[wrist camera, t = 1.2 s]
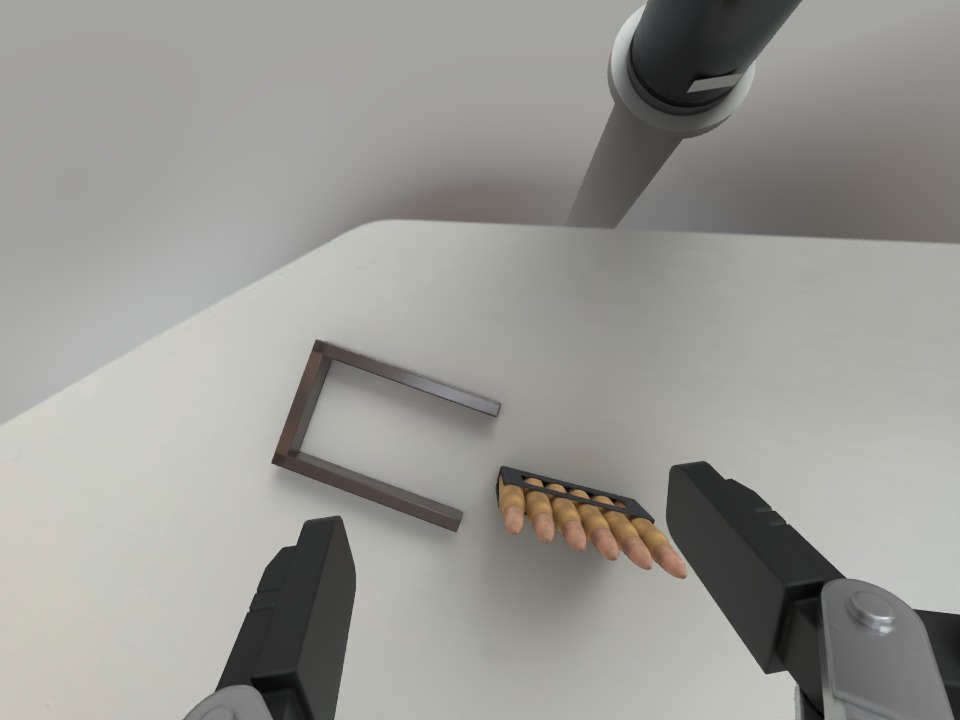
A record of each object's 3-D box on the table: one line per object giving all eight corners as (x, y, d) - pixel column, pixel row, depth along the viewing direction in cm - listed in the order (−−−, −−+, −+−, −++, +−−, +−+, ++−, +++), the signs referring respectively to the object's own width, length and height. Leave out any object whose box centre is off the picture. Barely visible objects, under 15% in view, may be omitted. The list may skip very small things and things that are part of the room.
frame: (325, 341, 36) (315, 339, 34) (501, 403, 35) (501, 404, 33) (283, 458, 36) (270, 463, 34) (459, 524, 35) (456, 532, 33)
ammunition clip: (495, 488, 35) (492, 545, 23) (500, 465, 35) (501, 509, 23) (630, 523, 35) (699, 599, 23) (635, 499, 35) (707, 563, 23)
